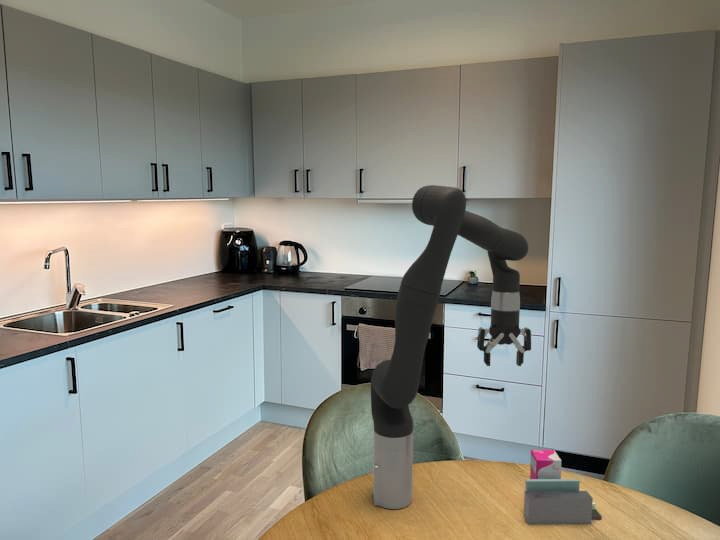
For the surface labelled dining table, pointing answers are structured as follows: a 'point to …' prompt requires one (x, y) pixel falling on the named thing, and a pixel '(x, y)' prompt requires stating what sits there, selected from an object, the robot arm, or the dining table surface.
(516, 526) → the dining table surface
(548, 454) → the supplement box
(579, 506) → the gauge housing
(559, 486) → the gauge plate
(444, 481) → the dining table surface
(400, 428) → the robot arm
